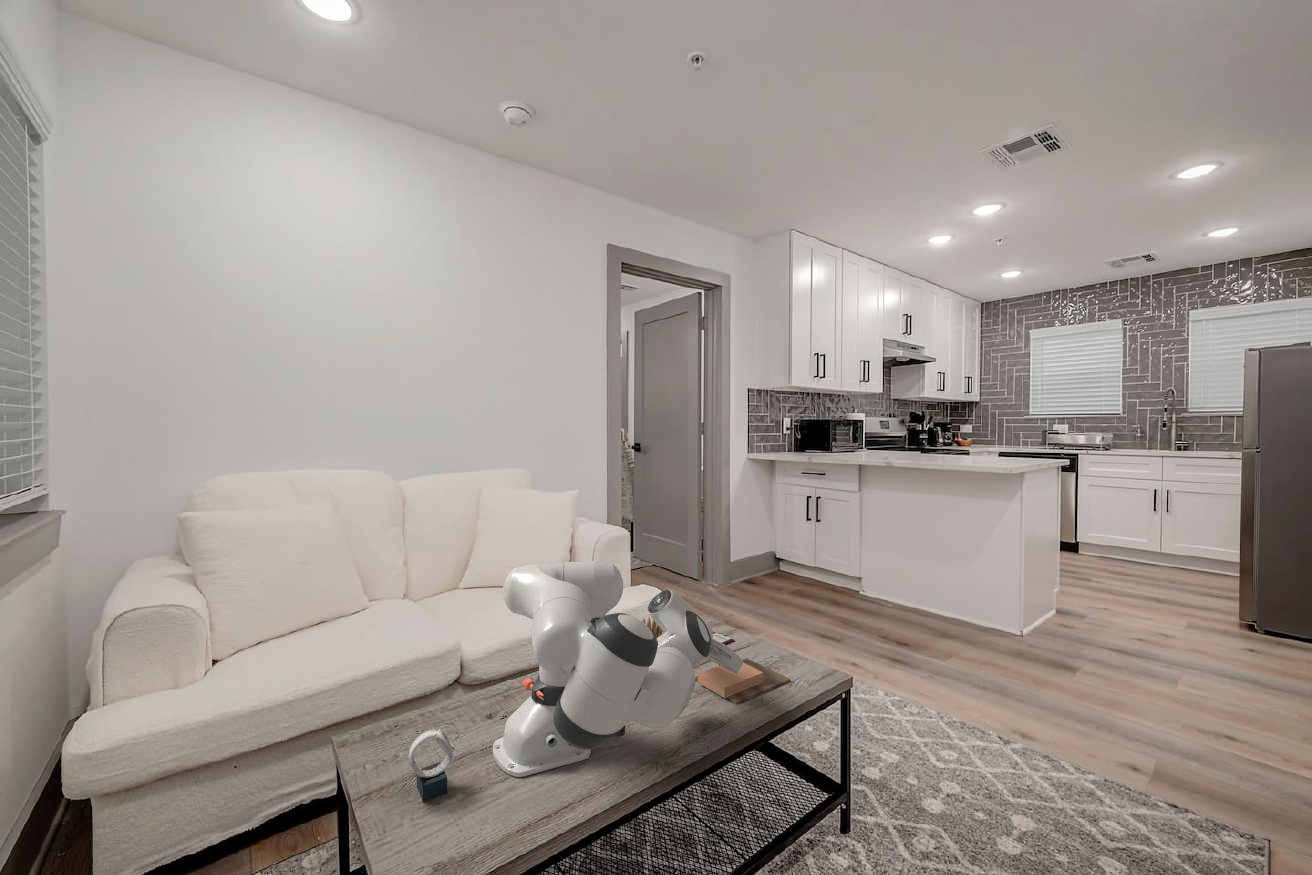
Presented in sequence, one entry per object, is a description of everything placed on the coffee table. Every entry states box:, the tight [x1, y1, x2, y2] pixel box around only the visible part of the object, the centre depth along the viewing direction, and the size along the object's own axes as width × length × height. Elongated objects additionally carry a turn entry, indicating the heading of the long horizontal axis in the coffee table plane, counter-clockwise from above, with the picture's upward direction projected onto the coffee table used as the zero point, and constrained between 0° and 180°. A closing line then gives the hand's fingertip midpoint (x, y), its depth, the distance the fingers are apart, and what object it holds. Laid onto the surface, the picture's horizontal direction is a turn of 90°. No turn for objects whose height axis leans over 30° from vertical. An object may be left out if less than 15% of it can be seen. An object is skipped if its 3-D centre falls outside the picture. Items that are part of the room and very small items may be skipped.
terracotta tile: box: [697, 663, 763, 699], centre depth 145 cm, size 3×10×14 cm
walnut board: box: [695, 658, 791, 705], centre depth 147 cm, size 20×16×1 cm
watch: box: [408, 728, 455, 803], centre depth 104 cm, size 6×8×11 cm
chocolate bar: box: [713, 631, 736, 646], centre depth 171 cm, size 9×1×18 cm
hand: (723, 663), depth 143 cm, fingers closed
